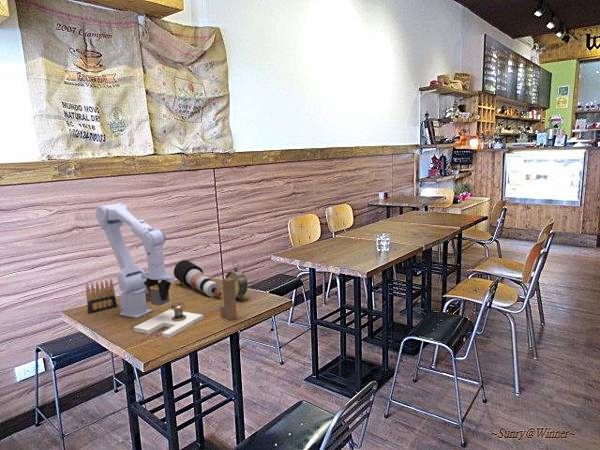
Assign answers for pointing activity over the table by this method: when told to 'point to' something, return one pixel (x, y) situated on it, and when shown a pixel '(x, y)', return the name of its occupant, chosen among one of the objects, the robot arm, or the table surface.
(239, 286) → the alarm clock
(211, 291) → the cable
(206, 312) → the table surface
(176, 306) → the bronze knob
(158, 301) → the grey and orange block
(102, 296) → the ammunition clip
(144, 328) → the notched board
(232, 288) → the wooden block
